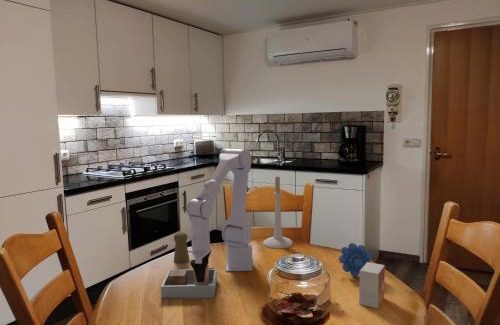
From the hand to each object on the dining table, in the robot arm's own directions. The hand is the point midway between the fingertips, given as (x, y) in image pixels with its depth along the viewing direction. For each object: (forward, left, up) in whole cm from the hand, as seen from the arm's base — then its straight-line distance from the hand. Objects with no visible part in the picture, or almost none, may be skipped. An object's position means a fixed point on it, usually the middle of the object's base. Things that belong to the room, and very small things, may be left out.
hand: (202, 276), depth 127 cm
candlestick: (-28, -43, -4) cm, 52 cm away
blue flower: (-52, -6, -4) cm, 53 cm away
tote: (+4, 0, -4) cm, 6 cm away
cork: (+11, -25, -4) cm, 28 cm away
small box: (-52, +11, -4) cm, 53 cm away
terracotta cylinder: (0, 0, -3) cm, 4 cm away
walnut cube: (+8, 0, -3) cm, 8 cm away
